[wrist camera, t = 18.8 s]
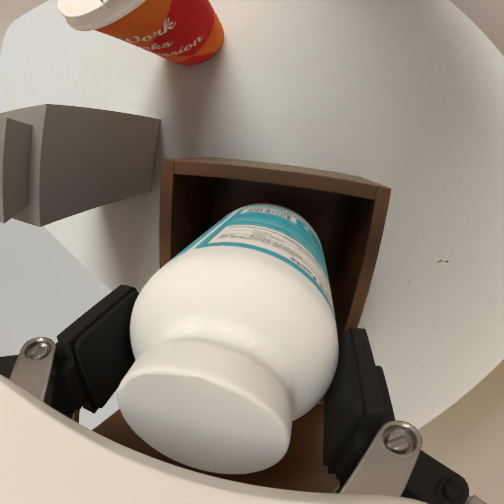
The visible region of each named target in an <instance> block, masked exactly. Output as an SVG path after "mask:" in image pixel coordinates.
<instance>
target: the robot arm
mask: <svg viewBox="0 0 504 504" xmlns="http://www.w3.org/2000/svg"><path fill="white" fill-rule="evenodd" d="M138 295H139V293H138V292H137V290H136V288H134V287H130V286H126V285H120V286H119V287H117V288H116V289H115V290H114V291H112V292H111V293H110V294H109V295H107V296H106V297H105V298H103V299H102V300H101V301H100V302H98V303H97V304H96V305H95V306H93V307H92V308H91V309H90V310H88V311H87V312H86V313H84V314H83V315H82V316H81V317H80V318H78V319H77V320H76V321H75V322H73V323H72V324H71V325H70V326H68V327H67V328H66V329H65V330H64V331H62V332H61V333H60V334H59V335H58V336H57V339H58V342H57V343H56V344H55V343H54V342H53V341H52V340H51V339H49V338H45V337H37V338H34V339H31V340H29V341H27V342H26V343H25V344H24V345H23V347H22V349H21V351H20V353H19V355H13V356H5V357H0V504H486V503H485V502H483V501H482V500H481V499H479V498H478V497H477V496H476V495H473V496H472V497H471V496H469V488H468V484H467V482H466V481H465V479H464V478H463V477H461V476H460V475H459V474H457V473H455V472H454V471H452V470H451V469H449V468H448V467H446V466H444V465H443V464H441V463H440V462H438V461H437V460H435V459H433V458H432V457H431V456H429V455H427V454H426V453H425V452H423V451H422V450H421V447H422V437H421V435H420V433H419V431H418V430H417V429H416V428H415V427H414V426H413V425H411V424H409V423H408V422H404V421H395V417H394V413H393V408H392V404H391V400H390V396H389V392H388V388H387V384H386V380H385V376H384V373H383V369H382V367H381V366H375V362H374V359H373V355H372V351H371V347H370V343H369V340H368V336H367V333H366V330H365V329H361V328H353V327H350V328H349V329H348V331H345V330H344V331H343V333H342V336H341V339H340V342H339V356H338V365H337V369H336V372H335V375H334V378H333V381H332V383H331V385H330V387H329V389H328V390H327V392H326V393H325V395H324V431H323V465H324V466H328V474H336V479H337V480H339V481H340V482H339V484H338V485H337V486H336V488H335V489H334V490H333V492H332V493H315V492H303V491H293V490H284V489H276V488H269V487H262V486H256V485H250V484H245V483H240V482H235V481H230V480H226V479H221V478H217V477H213V476H209V475H205V474H202V473H198V472H195V471H191V470H188V469H185V468H181V467H178V466H175V465H172V464H169V463H166V462H163V461H160V460H158V459H155V458H152V457H150V456H147V455H144V454H142V453H139V452H137V451H135V450H132V449H130V448H127V447H125V446H123V445H121V444H118V443H116V442H114V441H112V440H110V439H108V438H106V437H104V436H102V435H100V434H98V433H96V432H94V431H92V430H90V429H88V428H86V427H84V426H82V425H80V424H79V411H80V408H81V407H82V406H83V408H84V409H87V410H88V411H91V412H92V413H95V412H96V411H97V409H98V408H102V407H103V406H104V405H105V404H106V403H107V401H108V400H109V399H110V397H111V396H112V395H113V393H114V392H115V391H116V389H117V388H118V387H119V385H120V383H121V381H122V380H123V378H124V377H125V375H126V374H127V372H128V371H129V370H130V368H131V367H132V365H133V364H134V362H135V361H136V360H135V358H134V355H133V351H132V346H131V340H130V321H131V315H132V310H133V307H134V304H135V302H136V299H137V297H138Z"/></svg>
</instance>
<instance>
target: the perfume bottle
mask: <svg viewBox="0 0 504 504" xmlns="http://www.w3.org/2000/svg"><path fill="white" fill-rule="evenodd" d="M159 126H160V119H155V118H150V117H144V116H139V115H133V114H127V113H121V112H115V111H108V110H100V109H93V108H84V107H75V106H65V105H53V104H44V105H38V106H33V107H27V108H22V109H17V110H13V111H8V112H4V113H0V222H1V223H5V222H7V221H8V220H9V219H11V218H14V219H17V220H20V221H23V222H26V223H29V224H32V225H35V226H39V227H41V226H44V225H47V224H49V223H52V222H55V221H58V220H60V219H63V218H66V217H69V216H72V215H75V214H78V213H81V212H84V211H87V210H90V209H93V208H96V207H99V206H102V205H106V204H109V203H112V202H115V201H119V200H122V199H125V198H129V197H132V196H136V195H139V194H143V193H147V192H150V191H151V187H152V177H153V168H154V160H155V153H156V145H157V139H158V132H159Z"/></svg>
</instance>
